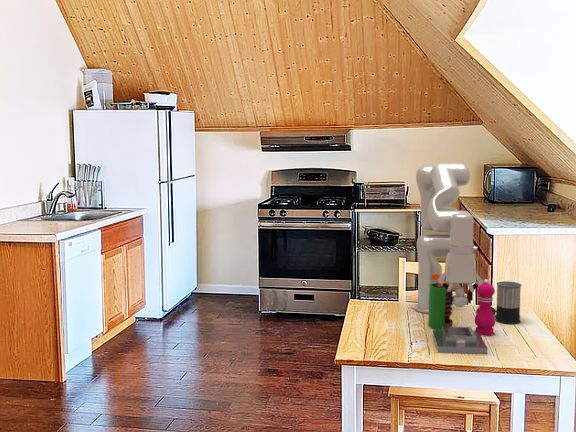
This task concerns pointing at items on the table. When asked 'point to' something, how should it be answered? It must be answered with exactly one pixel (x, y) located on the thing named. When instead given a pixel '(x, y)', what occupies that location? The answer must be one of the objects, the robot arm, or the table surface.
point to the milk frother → (507, 303)
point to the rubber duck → (459, 297)
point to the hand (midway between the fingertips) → (459, 301)
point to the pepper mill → (485, 309)
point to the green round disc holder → (439, 305)
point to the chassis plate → (459, 340)
